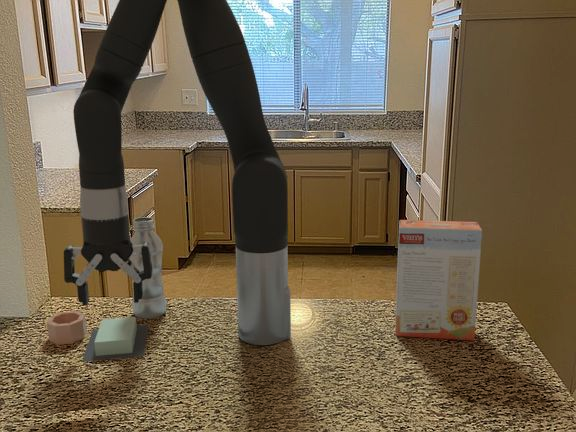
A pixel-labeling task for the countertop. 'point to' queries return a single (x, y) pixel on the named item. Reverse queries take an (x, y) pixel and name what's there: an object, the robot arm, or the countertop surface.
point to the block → (116, 336)
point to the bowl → (66, 327)
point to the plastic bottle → (153, 287)
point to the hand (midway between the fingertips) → (111, 302)
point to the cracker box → (437, 279)
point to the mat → (137, 352)
